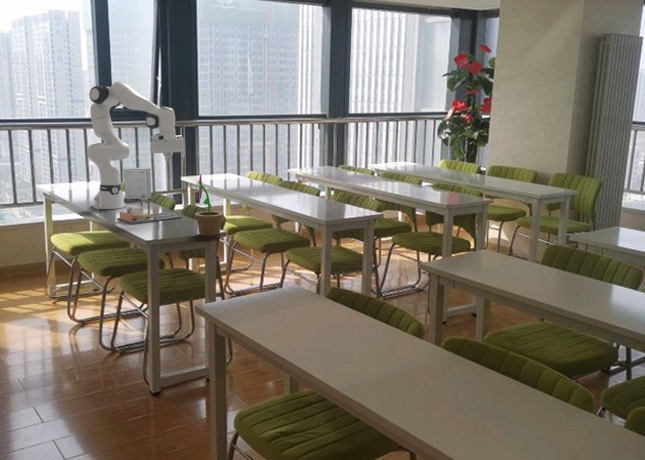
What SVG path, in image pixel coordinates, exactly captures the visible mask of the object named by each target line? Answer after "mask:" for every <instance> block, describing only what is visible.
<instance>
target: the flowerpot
mask: <svg viewBox="0 0 645 460" xmlns="http://www.w3.org/2000/svg"><path fill="white" fill-rule="evenodd" d="M198 184H199V186H198V191H199V192H198V193H199V199H200V200H201V199H202V196H203V191H204V193H205V195H206V198H205V200H203V202H202V204H204V205H207V211H197V212H195V213H194V218H195V220H196V222H197V227H198V228H197V229H198V234H199V235H200V234H201V235H200V236H205V237H206V236H207V237H208V236H209V237H210V236H211V237H212V236H218V235H220V234H221V227H222V226H221V224H222V219H224V213H223V212H221V211H217V210H216V211H214V210H213V211H212V210H211V208H212V204H211V202H210V197H209V196H210V195H209V193H208V192H207V190H206V187H205V186H204V185H203V179H202V174H201V173H200V175H199V179H198Z"/></svg>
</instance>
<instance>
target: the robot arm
mask: <svg viewBox="0 0 645 460" xmlns="http://www.w3.org/2000/svg"><path fill="white" fill-rule="evenodd" d="M89 99H90V101H91V102H93V103H92V104H91V105H90V107H89V108H90V111H89V113H90V119H91V124H92V129H93V132H94V135H95V136H96V137H97V138H100V139H101V140H102V141H103V142H96V143H92V144H90V145H88V148H87V150H86V155H87V157H88V159H89V160H90V161H92V162H93V164H95V166H97V169H98V171H99V176H100V177H99V178H100V184H99V191H98V192H97V194H96V195H95V196H94V197H93V201H94V202H93V203H91V204H90V205H91V207H92V208H94V209H96V210H117V209H123V208H124V207H127V204H126V203H125V196H124V193H123V191H122V185H121V178H120V176H121V175H120V171H119V169H118V168H116V167H114V166H113V165H112V163H111V162H112V161H113V162H114V161H115V162H116V161H123V160H126V159H128V158H129V156H130V154H131V149H130V146H129V145H128V144H127V142H124V141H123V140H122V139H120V138H119V136H118V135H117V134H116V131H115V130H114V125H113V122H112V119H111V115H110V110H115V109H116V108H117V107H119V106H121V105H122V106H123V107H125V108H127V109H129V110H135V111H142V112H146V113H148V114H146V116H145V125H146V126H147V128H148V129H150V130H159V132H158V133H156V134H153V135H151V142H150V152H151V154H163V157H164V160H165V161H167V162H169V161H172V157H173V154H174V153H184V152H185V150H186V149H185V148H186V147H185V137H184V136H182V135H176V128H175V126H176V114H175V111H174V108H172V107H170V106H169V107H168V106H161V107H160V106H158V105H157V104H155V102H153V101H151V100H150V99H148V98H146V97H145V96H143V95H142V94H140V93H138V92H137V90H135V89H133V87H131V86H130V85H128V84H127V83H125V82H123V81H120V80H119V81H115V82H113V83H112V84H111V86H106V85H96V86H93V87H91V89H90V90H89ZM167 155H169V156H167Z"/></svg>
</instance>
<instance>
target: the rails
mask: <svg viewBox="0 0 645 460" xmlns="http://www.w3.org/2000/svg"><path fill="white" fill-rule="evenodd" d="M169 213H170V212H169V211H165V212H156V215H159V216H156V218H160V217H168V216H175V215H176V213H170V214H169ZM150 214H151V217H150V218H154V213H150ZM163 214H167V215H163ZM150 218H149V219H150ZM142 219H148V218H147V217H144V218H137V219H136V220H142ZM133 221H134V220H133Z"/></svg>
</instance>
